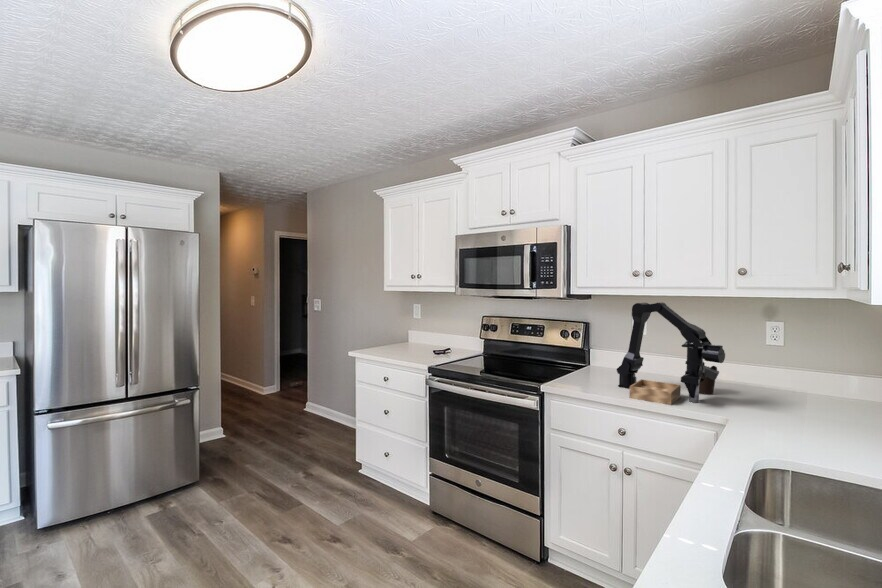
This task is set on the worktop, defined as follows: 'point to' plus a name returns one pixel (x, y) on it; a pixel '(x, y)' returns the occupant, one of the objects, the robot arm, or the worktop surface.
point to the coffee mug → (706, 386)
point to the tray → (655, 391)
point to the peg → (696, 398)
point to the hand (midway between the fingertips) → (693, 396)
